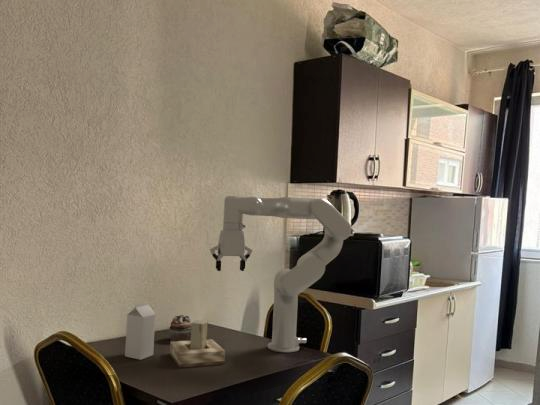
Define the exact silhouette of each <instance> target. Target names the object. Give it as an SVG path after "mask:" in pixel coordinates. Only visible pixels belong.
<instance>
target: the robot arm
mask: <svg viewBox="0 0 540 405" xmlns="http://www.w3.org/2000/svg"><path fill="white" fill-rule="evenodd" d="M244 215H248V216H257V217H260V216H261V217H274V218H275V217H276V218H281V219H299V220H300V219H301V220H317V221H318V222H319V224H320V225H321V226H322V227H324V235H323V236H324V237H323V239H322V240H321V241H320V242H319V243H318V244H317V245H316V246H314V247H313V248H312V249H310V250H309V251H307V252H306V253H305V254H303V255H301V257H299V258H298V260H297V262H296V265H295V266H294V267H293V268H291V269H290V268H283V269H280V270H279V271H278V272H277V273H276V274H275V276H274V279H273V312H272V313H273V314H272V331H271V332H272V334H271V335H272V336H271V337H272V338H271V342H268V343H267V348H268V349H269V350H271V351H273V352H276V353H277V352H279V353H295V352H298V351H299V350H300V344H306V343H307V342H308V341H307V340H308V339H307V338H306V337H297V324H298V323H297V322H298V305H299V304H298V303H299V301H298V299H299V296H298V295H300V294H301V293H303V292H304V291H305V290H306V289H308V288H310V287H311V286H312V285H313V284H315V283H316V282H318V280H320V279H321V278H322V277H323V275H324V274H325V272H326V266H327V265H328V264H329V263H330V262H331V261H333V260H334V259H335V258H337V256H338V255H339V254H340V252H341V250H342V248H343V244H344V240H347V239H348V238H349V237H350V236H351V234H352V225H351V223H350V222H349V221H348V219H346V217H345V216H343V215H342V213H341V212H339V210H337V208H336V207H335V206H334V205H333V204H332V203H331V202H330V201H328V200H327V199H325V198H321V197H319V198H314V197H313V198H310V197H309V198H308V197H295V196H294V197H289V196H282V197H270V198H269V197H257V196H246V197H244V196H243V197H242V196H237V195H235V196H234V195H228V196H227V195H226V197H225V198H224V203H223V220H222V221H223V223H222V229H221V230H220V232H219V236H218V243H217V245H216V246H214V247H212V248H210V249H209V251H210V254H211V256H212V257H213V258H214V260H215V269H216V271H218V272H221V271H222V261H221V259H222V258H224V257H239V259H240V261H239V270H240V271H242V272H244V271H245V268H246V261H247V260H248V259H249V258H250V257H251V254H252V252H253V250H252V249H251V248H250V247H249V246H246V245H245V242H246V240H245V233H244V231H243V229H246V224H244V223H243V218H244ZM216 251H217V254H216ZM245 251H246V254H245Z"/></svg>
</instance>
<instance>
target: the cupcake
mask: <svg viewBox="0 0 540 405" xmlns="http://www.w3.org/2000/svg"><path fill="white" fill-rule="evenodd" d="M191 325H192V322H191V318H190V317H189V316H188V315H185V316H184V314H180V315H175V316H172V321H171V322H170V326H169V329H168V331H169V338H170V342H174V341H191Z"/></svg>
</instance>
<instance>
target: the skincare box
mask: <svg viewBox="0 0 540 405" xmlns="http://www.w3.org/2000/svg"><path fill="white" fill-rule="evenodd" d="M207 337H208V321H207V320H200V319H198V320H195V321H193V322H191V339H190V341H191V343H190V350H195V349H206V341H207V340H208V338H207Z"/></svg>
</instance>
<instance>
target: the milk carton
mask: <svg viewBox="0 0 540 405" xmlns="http://www.w3.org/2000/svg"><path fill="white" fill-rule="evenodd" d="M126 316H127V317H126V329H125V330H126V331H125V348H124V356H125V357H127V358H129V359H130V358H131V359H136V360H141V361H142V360H143V359H147V358H149V357H152V356H154V345H155V330H156V329H155V328H156V313H155V312H154V310H153V309H152V308H151V306H150V305H149V301H146V302H140V303H137V304H135V306H134V307H133V309H132V310H131V311H130V312H128V313H127V315H126Z"/></svg>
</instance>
